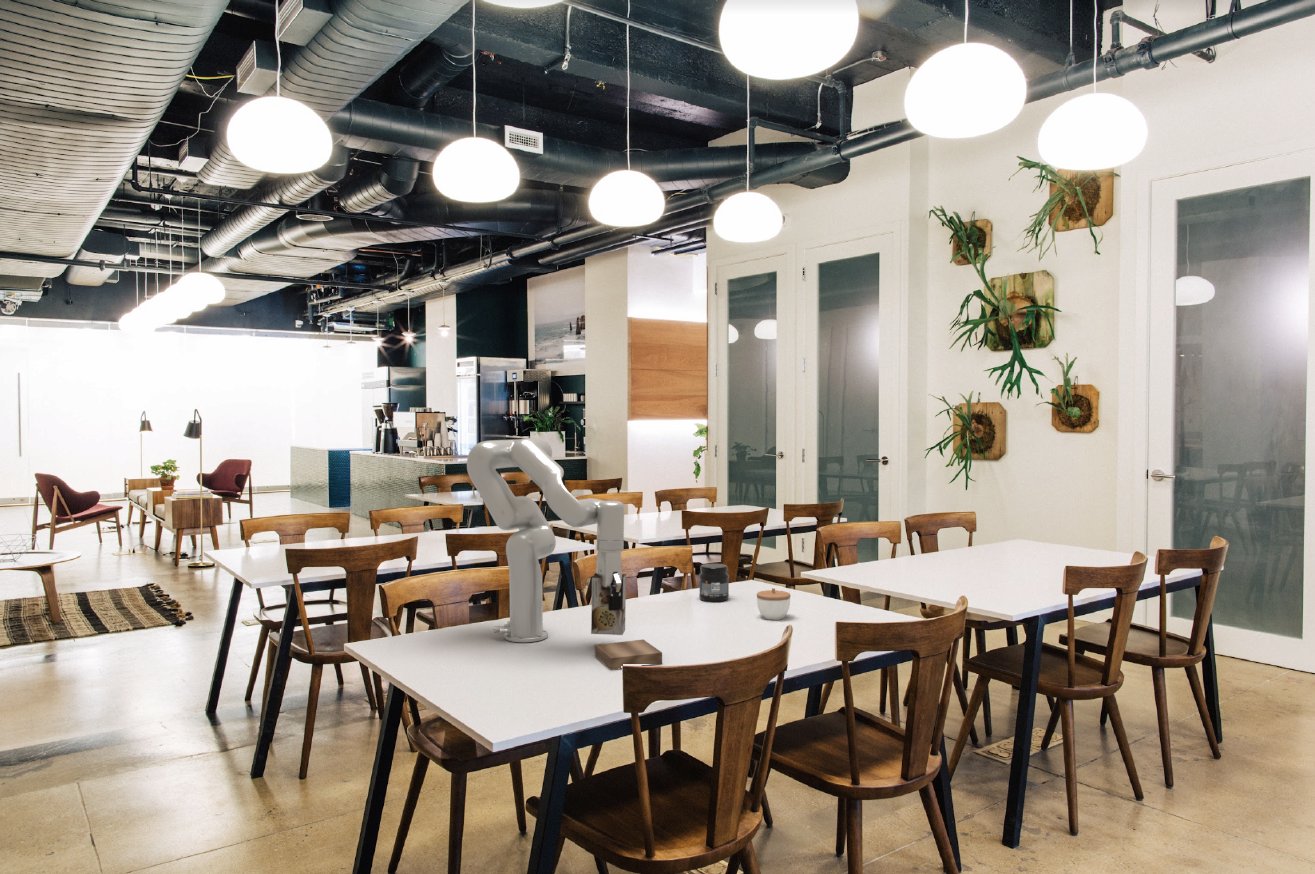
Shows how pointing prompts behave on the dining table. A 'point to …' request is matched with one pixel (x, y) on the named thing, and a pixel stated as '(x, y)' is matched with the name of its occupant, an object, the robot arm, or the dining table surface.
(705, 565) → the supplement container
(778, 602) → the lidded jar
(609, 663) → the block
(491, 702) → the dining table surface
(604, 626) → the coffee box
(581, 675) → the dining table surface
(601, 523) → the robot arm
